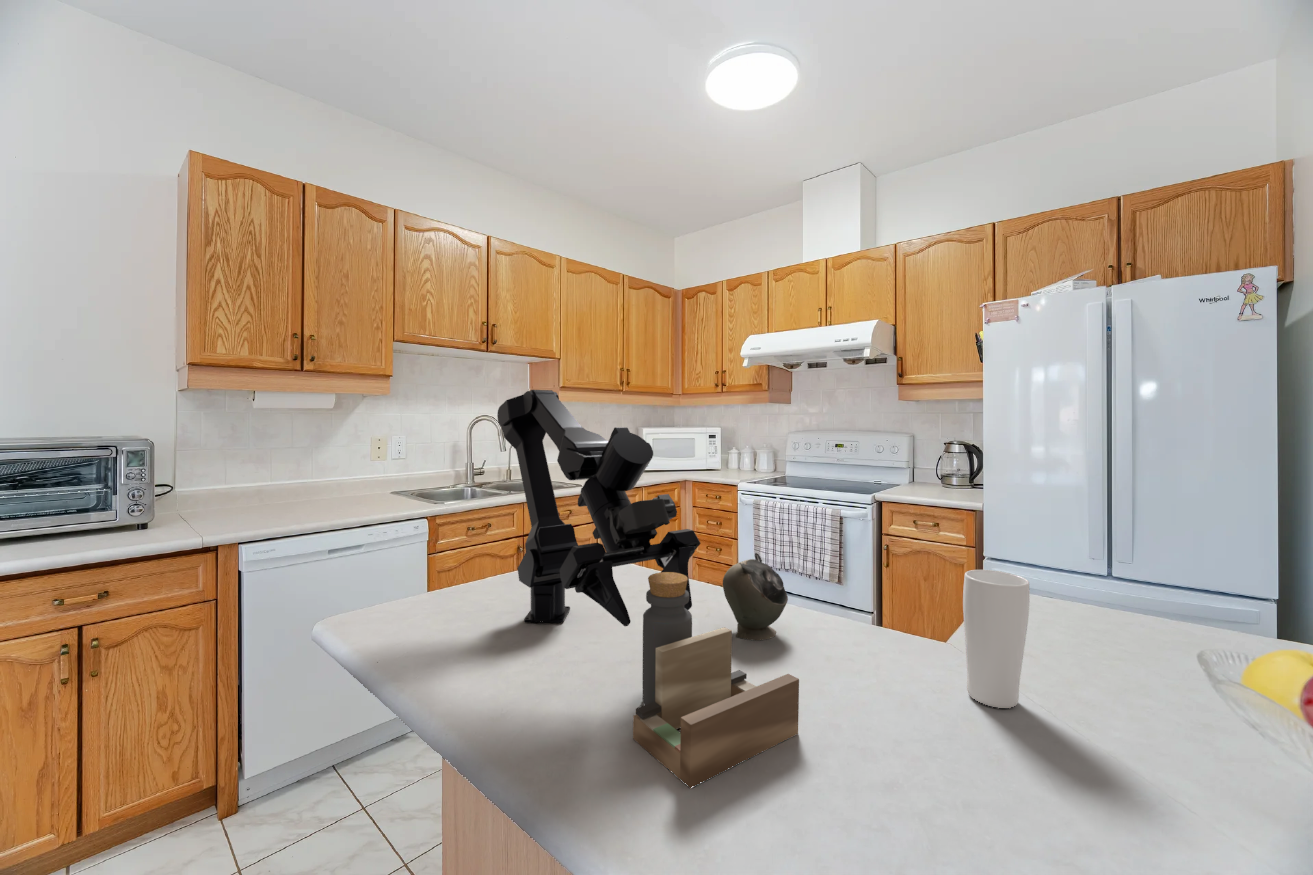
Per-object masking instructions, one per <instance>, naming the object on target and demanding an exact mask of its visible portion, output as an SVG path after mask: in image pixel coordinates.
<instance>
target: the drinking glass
mask: <svg viewBox="0 0 1313 875" xmlns="http://www.w3.org/2000/svg"><path fill="white" fill-rule="evenodd" d="M962 589H963V592H962V611H963V612H962V615H963V628H964V631H963V632H964V644H965V656H966V657H965V659H966V660H965V661H966V691H967V693H968V695H969V696H970V698H972V699H973V700H974V699H975V700H974V701H976V702H977V701H978V702H977V703H979V702H980V703H979V704H981V703H983V704H982V705H984V704H985V705H984V706H986V705H989V706H993V707H998V708H997V709H999V708H1009V709H1012V708H1011V707H1013V708H1015V707H1016V706H1017V705H1018V704H1019V701H1020V698H1019V697H1020V682H1021V676H1022V670H1023V668H1022V667H1023V663H1024V662H1023V660H1024V655H1025V654H1024V653H1025V646H1026V639H1027V634H1028V633H1027V632H1028V625H1029V619H1030V618H1029V616H1030V598H1031V597H1030V596H1031V595H1030V593H1031V592H1030V581H1029V580H1027V578H1025V577H1023V576H1021V575H1017V574H1014V573H1010V572H1005V571H999V570H992V569H972V570H968V571H965V573H964V579H963V588H962ZM989 706H988V707H989ZM1014 706H1015V707H1014ZM993 707H992V708H993Z"/></svg>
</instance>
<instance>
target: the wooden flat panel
mask: <svg viewBox="0 0 1313 875" xmlns="http://www.w3.org/2000/svg"><path fill="white" fill-rule="evenodd" d="M732 632H733V630H732V629H730V628H727V627H721V628H718V629H714V630H711V631H707V632H704V633H701V634H697V635H694V636H692V637H690V638H687V639H684V640H681V641H677V642H674V643H671V644H667V645H664V646H661V647H657V648H656V672H655V701H654V702H652V703H649V704H646V705H644V704H643V705H641V706H639V707H636V708H635V715H636V714H637V715H638V716H639V717H640V718H642V719H644V718H647V717H649V716H652V715H654V714H656V715H658V716H659V717H660V718H662V719H663V720H664V721H666V722H667V723H668V724H669V725H671V726H672V727H673V728H675V729H676V730H678V729H681V717H683V716H685V715H688V714H690V713H693V712H695V711H698V710H700V709H703V708H705V707H707V706H710V705H712V704H715V703H717V702H720V701H722V700H725V699H727V698H730V697H731V684H734V683H737V682H739V681H742V680H747V673H746V672H745V671H742V669H741V670H740V669H738V670H735V671H733V672H732V646H733V645H732V644H733V643H732V641H733V640H732V638H733V637H732V636H733V634H732Z"/></svg>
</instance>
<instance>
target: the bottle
mask: <svg viewBox="0 0 1313 875" xmlns="http://www.w3.org/2000/svg"><path fill="white" fill-rule="evenodd" d="M647 580H648V585H649V589H648V590H647V591H646V595H645V599H646V602H647V603H648V604H649V605H650V607H648V608H647V609H646V610H645V611H644V612H643V615H642V704H643V706H644V705H646V704H649V703H652V702H654V701H655V672H656V648H657V647H661V646H664V645H667V644H671V643H674V642H677V641H681V640H684V639H687V638H690V637H693V615H692V613H691V612H690V610H687V609H686V608H684V605H685V604H687V603H688V602H689V592H688V591H687V590H686V585H687V581H688V578H687V576H685V575H683V574H680V573H674V572H661V571H660V572H655V573H652V574H650V575H648V576H647Z"/></svg>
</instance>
